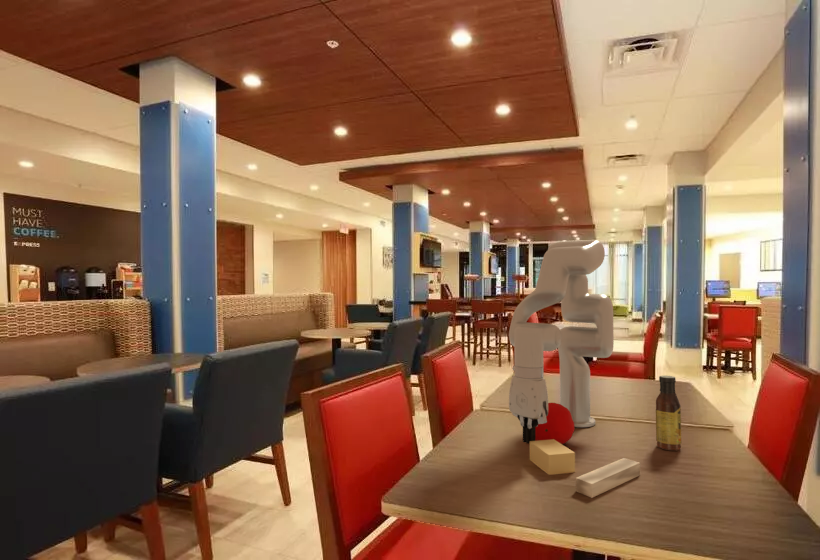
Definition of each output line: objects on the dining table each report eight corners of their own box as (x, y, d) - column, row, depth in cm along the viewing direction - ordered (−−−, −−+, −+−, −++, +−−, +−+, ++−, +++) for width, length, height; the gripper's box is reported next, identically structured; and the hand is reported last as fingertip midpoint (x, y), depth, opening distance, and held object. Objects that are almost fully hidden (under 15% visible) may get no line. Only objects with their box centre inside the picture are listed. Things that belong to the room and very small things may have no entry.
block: (529, 460, 124) (529, 441, 124) (553, 458, 126) (553, 439, 126) (548, 475, 115) (548, 454, 115) (574, 473, 116) (574, 452, 116)
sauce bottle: (684, 452, 129) (684, 379, 129) (660, 450, 130) (659, 378, 131) (676, 444, 136) (676, 374, 136) (652, 443, 137) (652, 374, 137)
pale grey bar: (575, 491, 105) (575, 477, 106) (624, 469, 117) (624, 457, 117) (592, 497, 102) (592, 484, 102) (639, 475, 114) (639, 462, 114)
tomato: (548, 462, 130) (565, 449, 141) (574, 428, 126) (589, 418, 137) (513, 429, 137) (531, 419, 148) (536, 396, 133) (554, 388, 144)
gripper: (498, 369, 130) (498, 437, 130) (542, 378, 118) (542, 452, 118) (516, 367, 134) (517, 431, 134) (561, 375, 122) (561, 446, 122)
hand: (529, 441), depth 126 cm, fingers closed
